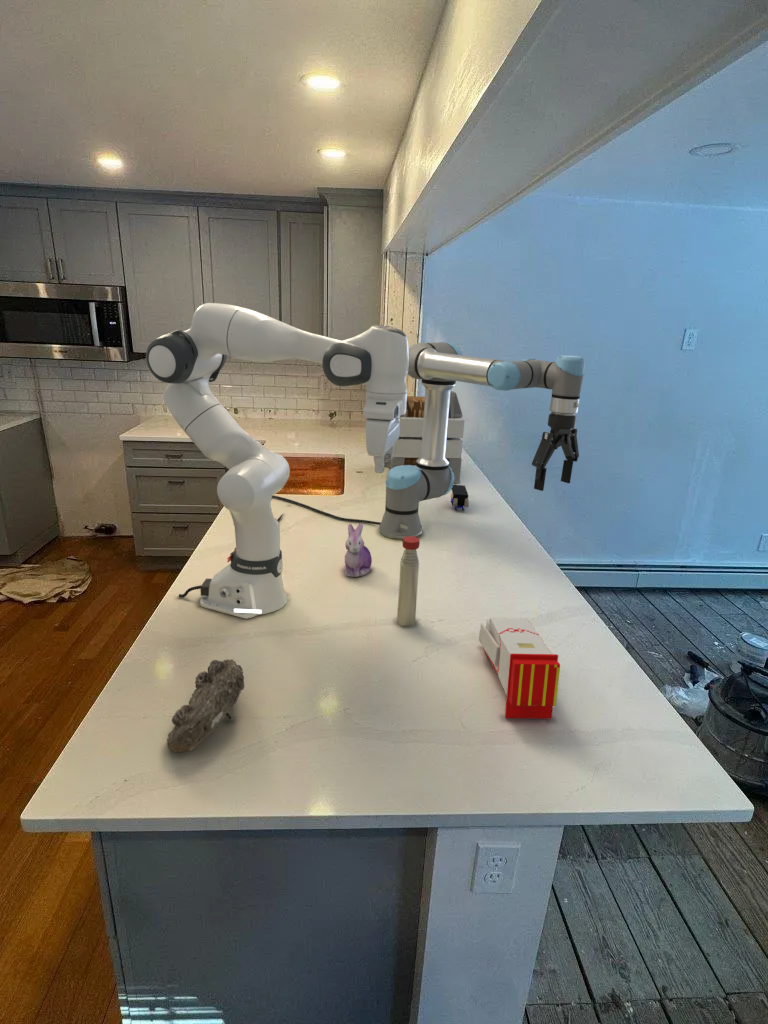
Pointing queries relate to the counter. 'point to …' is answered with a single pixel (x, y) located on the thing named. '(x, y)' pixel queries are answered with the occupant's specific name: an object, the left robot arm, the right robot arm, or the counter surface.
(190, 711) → the fossil
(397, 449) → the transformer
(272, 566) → the left robot arm
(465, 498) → the figurine character
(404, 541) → the cap
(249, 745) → the counter surface
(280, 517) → the feather
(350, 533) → the figurine
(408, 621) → the bottle
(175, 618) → the counter surface
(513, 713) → the toy
